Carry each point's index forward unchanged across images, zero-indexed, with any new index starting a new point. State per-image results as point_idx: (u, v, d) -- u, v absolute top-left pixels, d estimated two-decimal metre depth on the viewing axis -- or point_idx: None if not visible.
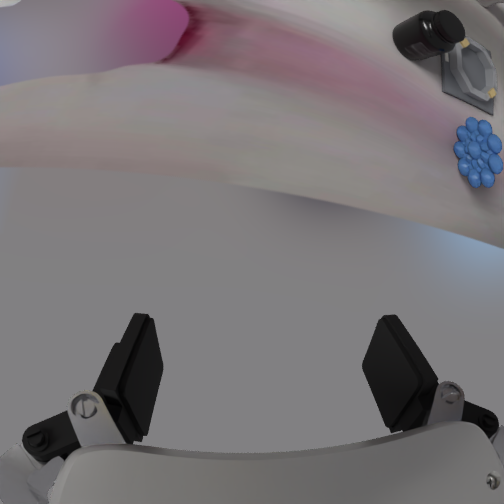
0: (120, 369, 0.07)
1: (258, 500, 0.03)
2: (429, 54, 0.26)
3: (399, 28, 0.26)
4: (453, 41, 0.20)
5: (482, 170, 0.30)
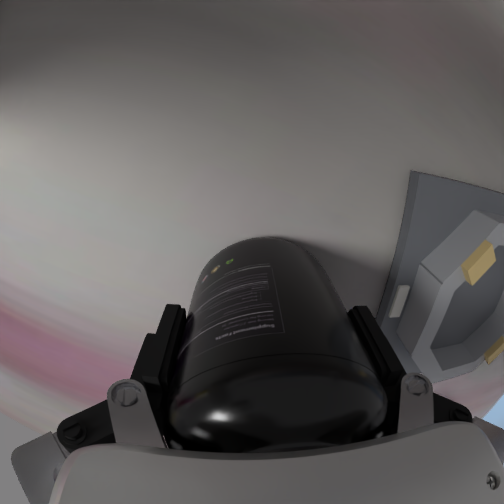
0: (160, 357, 0.08)
1: (258, 500, 0.03)
2: None
3: None
4: None
5: None
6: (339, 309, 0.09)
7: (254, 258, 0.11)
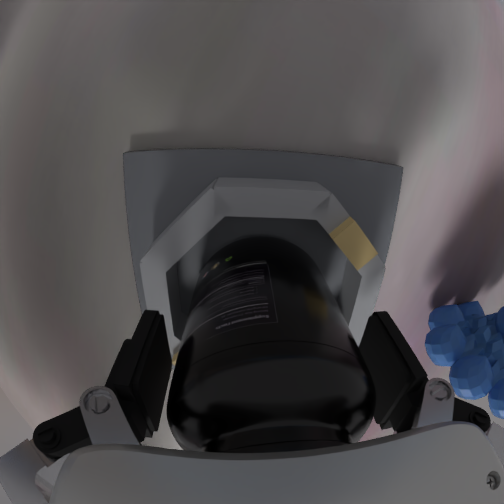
0: (133, 364, 0.07)
1: (258, 500, 0.03)
2: None
3: None
4: None
5: None
6: (330, 303, 0.10)
7: (252, 255, 0.11)
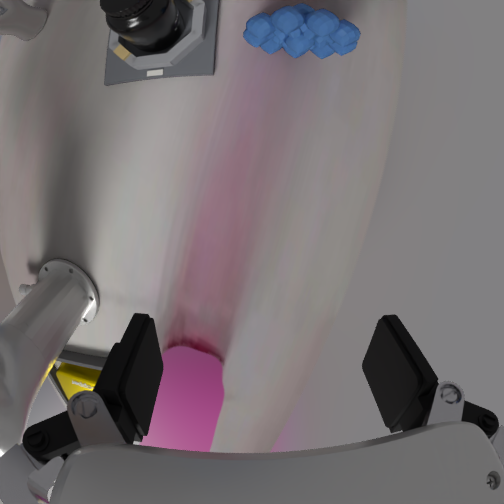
0: (120, 369, 0.07)
1: (258, 500, 0.03)
2: (144, 40, 0.21)
3: None
4: (125, 13, 0.15)
5: (334, 41, 0.20)
6: None
7: None
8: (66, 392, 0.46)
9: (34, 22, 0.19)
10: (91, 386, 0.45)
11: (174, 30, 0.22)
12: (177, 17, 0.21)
